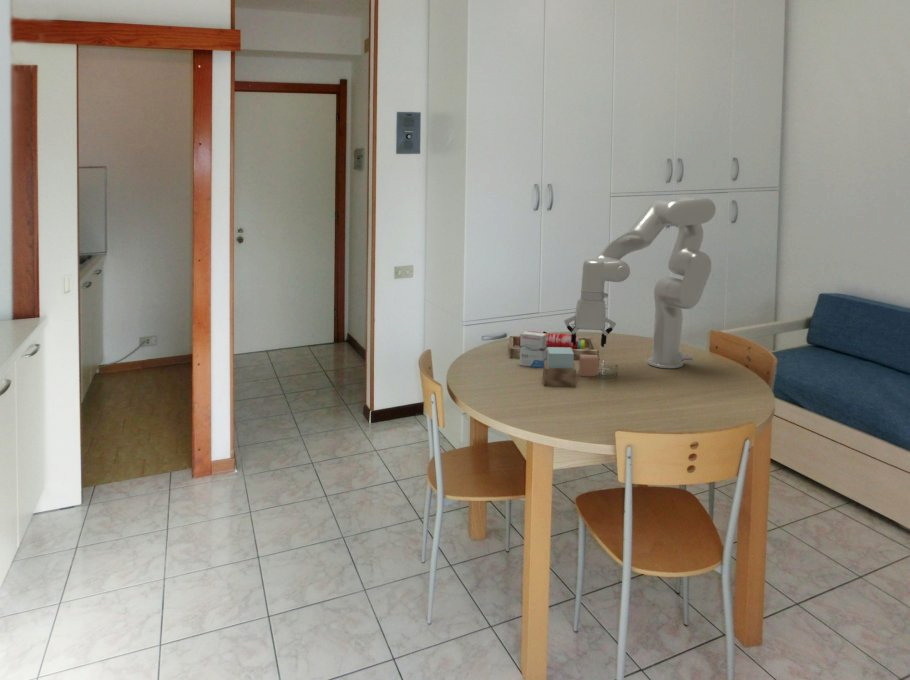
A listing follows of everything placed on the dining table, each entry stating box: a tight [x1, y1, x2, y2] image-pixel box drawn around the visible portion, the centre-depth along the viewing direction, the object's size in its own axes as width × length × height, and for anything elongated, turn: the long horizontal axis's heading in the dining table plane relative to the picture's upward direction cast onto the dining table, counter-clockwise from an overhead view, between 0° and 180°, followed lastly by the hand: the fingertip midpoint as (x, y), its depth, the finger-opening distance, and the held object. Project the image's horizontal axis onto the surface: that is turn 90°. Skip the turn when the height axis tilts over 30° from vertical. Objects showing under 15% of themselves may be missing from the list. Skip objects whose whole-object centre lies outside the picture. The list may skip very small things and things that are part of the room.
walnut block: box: [542, 360, 577, 387], centre depth 237 cm, size 10×10×6 cm
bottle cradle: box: [508, 335, 600, 361], centre depth 273 cm, size 33×20×4 cm, turn 86°
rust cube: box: [578, 355, 600, 377], centre depth 246 cm, size 6×6×6 cm
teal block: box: [546, 347, 574, 369], centre depth 236 cm, size 8×8×5 cm
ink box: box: [519, 330, 547, 369], centre depth 255 cm, size 8×5×12 cm, turn 65°
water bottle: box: [518, 330, 586, 350], centre depth 274 cm, size 12×8×25 cm
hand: (588, 345), depth 244 cm, fingers open, 9 cm apart
